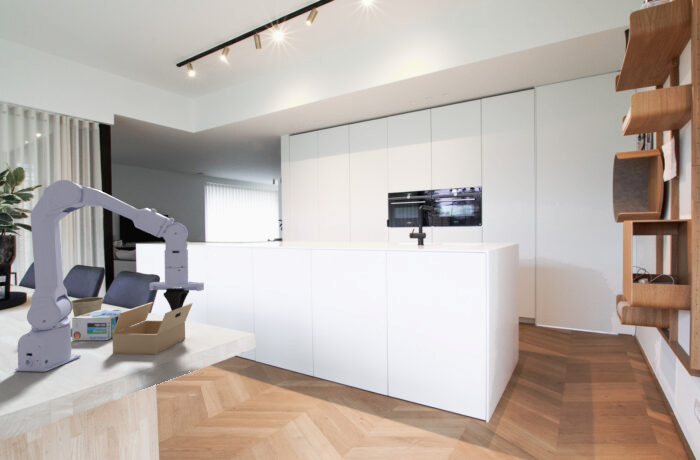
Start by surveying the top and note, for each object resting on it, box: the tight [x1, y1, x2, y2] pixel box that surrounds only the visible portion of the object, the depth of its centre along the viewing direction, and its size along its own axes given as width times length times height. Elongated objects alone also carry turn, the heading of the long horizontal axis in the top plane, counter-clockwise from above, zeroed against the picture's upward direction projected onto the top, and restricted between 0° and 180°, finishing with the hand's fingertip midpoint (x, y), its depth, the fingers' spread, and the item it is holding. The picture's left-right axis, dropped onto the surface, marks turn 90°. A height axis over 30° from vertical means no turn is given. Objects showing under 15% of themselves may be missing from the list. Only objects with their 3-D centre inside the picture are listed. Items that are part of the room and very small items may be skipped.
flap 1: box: [113, 301, 154, 333], centre depth 98 cm, size 12×6×1 cm
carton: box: [112, 319, 186, 355], centre depth 98 cm, size 13×12×5 cm
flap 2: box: [157, 302, 193, 334], centre depth 97 cm, size 12×6×1 cm
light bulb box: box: [71, 309, 129, 341], centre depth 108 cm, size 11×7×11 cm
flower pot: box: [71, 296, 105, 318], centre depth 119 cm, size 9×9×9 cm
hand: (177, 316), depth 97 cm, fingers closed, pressing on flap 2
